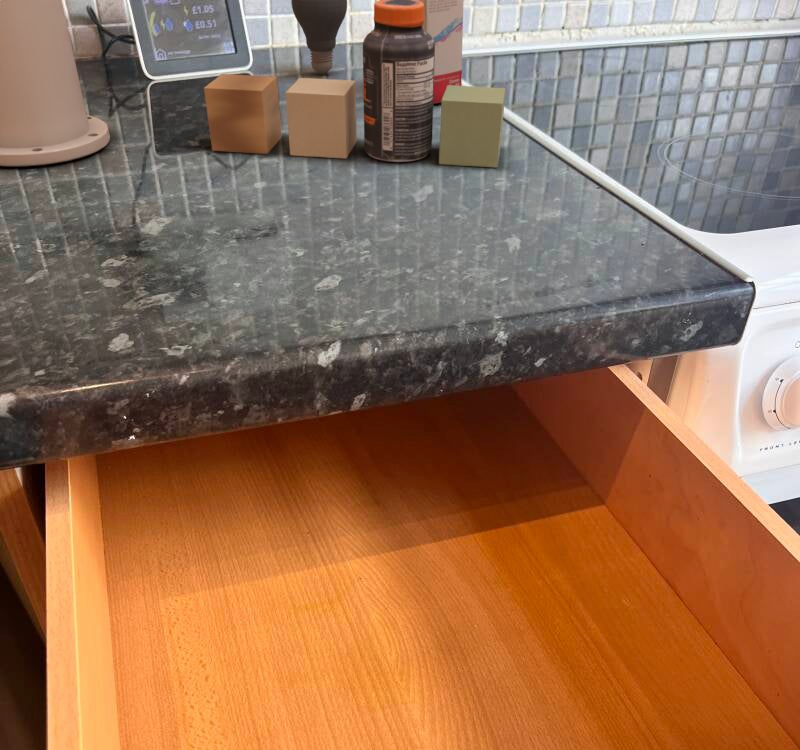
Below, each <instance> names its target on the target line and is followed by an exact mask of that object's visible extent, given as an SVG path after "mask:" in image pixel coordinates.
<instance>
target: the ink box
mask: <svg viewBox="0 0 800 750" xmlns="http://www.w3.org/2000/svg"><path fill="white" fill-rule="evenodd" d="M418 1H421V2H423V3H424V18H425V20H424V23H423V26H422V28H423V30H424V31H425V32H427V33H429V34H430V35H431V36H432V38H433V40H434V43H435V62H434V95H433V97H434V98H433V105H435V104H439V103H441V101H442V98H443V96H444V93H445V91H446V88H447V86H448V85H453V86H462V79H463V78H462V77H463V36H464V35H463V34H464V33H463V32H464V30H463V29H464V0H418Z"/></svg>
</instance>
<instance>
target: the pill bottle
mask: <svg viewBox="0 0 800 750" xmlns="http://www.w3.org/2000/svg"><path fill="white" fill-rule="evenodd" d="M424 20H425V18H424V3H423V2H421V1H418V0H377V1H376V2H374V4H373V21H374V23H373V24H374V26H373V29H372V30H371V31H370V32H369V33H367V34H366V36H365V37H364V39H363V42H362V86H363V127H364V128H363V138H364V139H363V145H364V146H363V148H364V152H365V153H366V154H367V155H368V156H369V157H371V158H373V159H375V160H379V161H383V162H392V163H404V162H413V161H419V160H422V159H424V158H426V157H427V156H429V155H430V154H431V152H432V148H433V147H432V146H433V127H434V126H433V124H434V122H433V121H434V104H433V98H434V97H433V95H434V62H435V43H434V40H433V38H432V36H431V35H430V34H429V33H427V32H425V31H424V30H423V28H422V26H423V23H424Z"/></svg>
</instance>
